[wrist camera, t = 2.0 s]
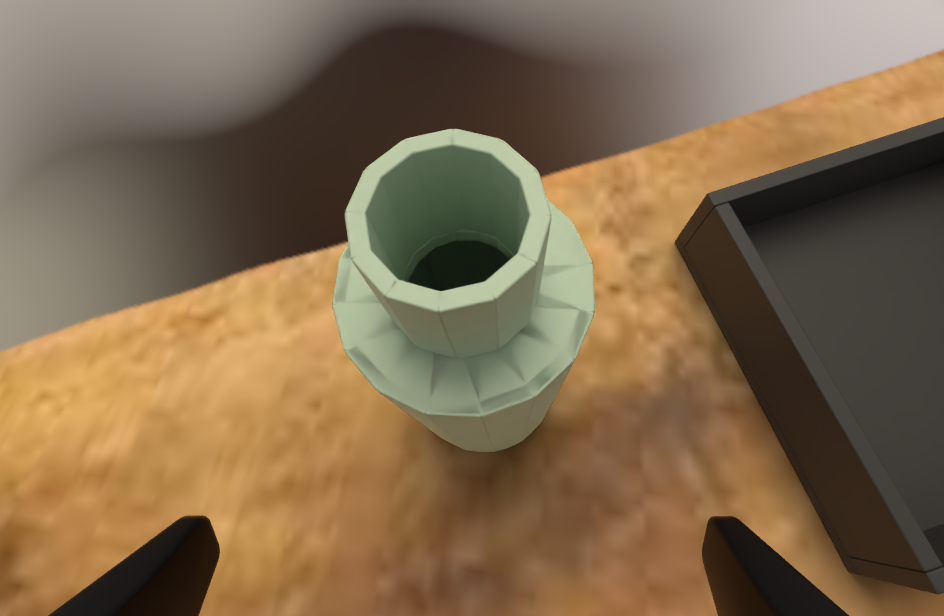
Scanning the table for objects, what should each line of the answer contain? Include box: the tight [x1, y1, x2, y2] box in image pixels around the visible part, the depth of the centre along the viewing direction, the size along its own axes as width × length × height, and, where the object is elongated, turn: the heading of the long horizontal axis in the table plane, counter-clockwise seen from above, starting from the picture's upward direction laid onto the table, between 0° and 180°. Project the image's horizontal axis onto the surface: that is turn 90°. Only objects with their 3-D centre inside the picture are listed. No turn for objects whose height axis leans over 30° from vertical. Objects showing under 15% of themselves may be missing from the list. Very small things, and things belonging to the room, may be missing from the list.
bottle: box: [332, 129, 595, 452], centre depth 15 cm, size 6×6×14 cm
